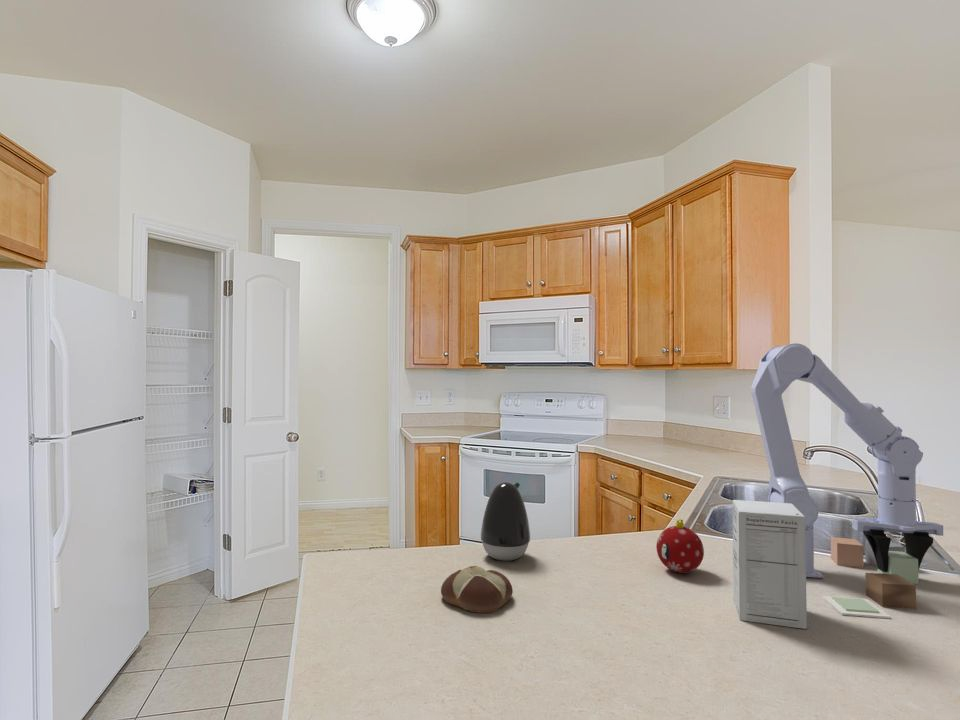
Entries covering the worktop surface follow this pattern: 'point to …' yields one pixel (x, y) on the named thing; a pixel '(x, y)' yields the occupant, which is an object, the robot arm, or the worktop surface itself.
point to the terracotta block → (847, 552)
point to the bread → (477, 589)
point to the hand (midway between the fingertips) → (897, 571)
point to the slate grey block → (870, 555)
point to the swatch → (855, 607)
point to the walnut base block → (891, 591)
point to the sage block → (902, 566)
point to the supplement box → (769, 563)
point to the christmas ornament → (680, 548)
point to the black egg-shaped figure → (505, 523)
